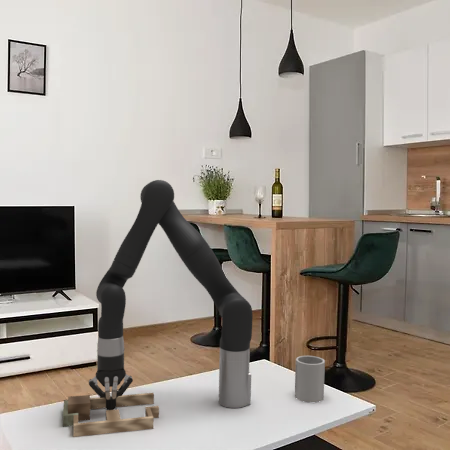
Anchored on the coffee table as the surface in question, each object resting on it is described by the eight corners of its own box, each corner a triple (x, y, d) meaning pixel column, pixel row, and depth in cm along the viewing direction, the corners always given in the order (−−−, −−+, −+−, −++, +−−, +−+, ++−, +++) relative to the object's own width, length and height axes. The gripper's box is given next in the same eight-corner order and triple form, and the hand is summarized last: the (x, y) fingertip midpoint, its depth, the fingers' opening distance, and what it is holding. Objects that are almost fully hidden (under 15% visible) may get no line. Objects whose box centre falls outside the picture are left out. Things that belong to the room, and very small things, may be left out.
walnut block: (89, 411, 153) (89, 394, 153) (90, 420, 147) (90, 402, 147) (68, 413, 152) (68, 396, 151) (67, 422, 146) (67, 404, 146)
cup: (329, 398, 167) (330, 361, 166) (308, 404, 161) (309, 366, 161) (309, 389, 174) (310, 354, 173) (288, 395, 169) (290, 358, 168)
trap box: (153, 402, 161) (153, 392, 161) (162, 427, 143) (162, 417, 143) (63, 410, 153) (63, 400, 153) (62, 437, 136) (62, 426, 136)
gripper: (132, 346, 156) (132, 403, 157) (86, 349, 152) (87, 407, 153) (135, 353, 149) (135, 413, 150) (87, 357, 145) (87, 418, 146)
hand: (110, 410), depth 152 cm, fingers closed
